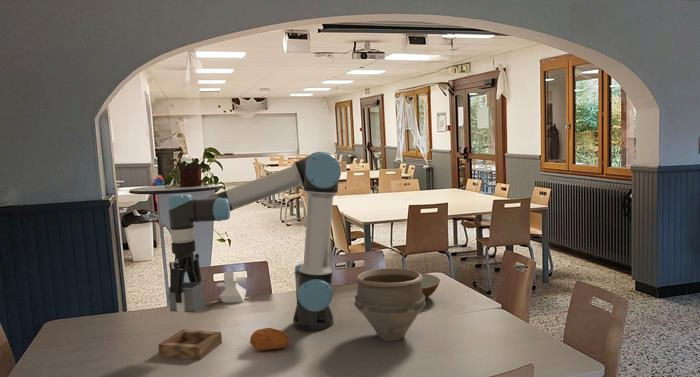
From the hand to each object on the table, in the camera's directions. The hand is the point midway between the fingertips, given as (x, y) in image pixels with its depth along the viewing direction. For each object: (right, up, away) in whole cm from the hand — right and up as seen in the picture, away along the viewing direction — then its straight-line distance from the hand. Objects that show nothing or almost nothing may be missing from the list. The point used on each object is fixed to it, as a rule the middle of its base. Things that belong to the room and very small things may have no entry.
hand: (188, 307), depth 174 cm
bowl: (+80, -7, +45) cm, 92 cm away
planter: (+68, -11, +5) cm, 70 cm away
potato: (+28, -14, -1) cm, 31 cm away
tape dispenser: (+3, -10, +55) cm, 56 cm away
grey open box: (0, 0, 0) cm, 0 cm away
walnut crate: (+1, -14, +1) cm, 15 cm away
